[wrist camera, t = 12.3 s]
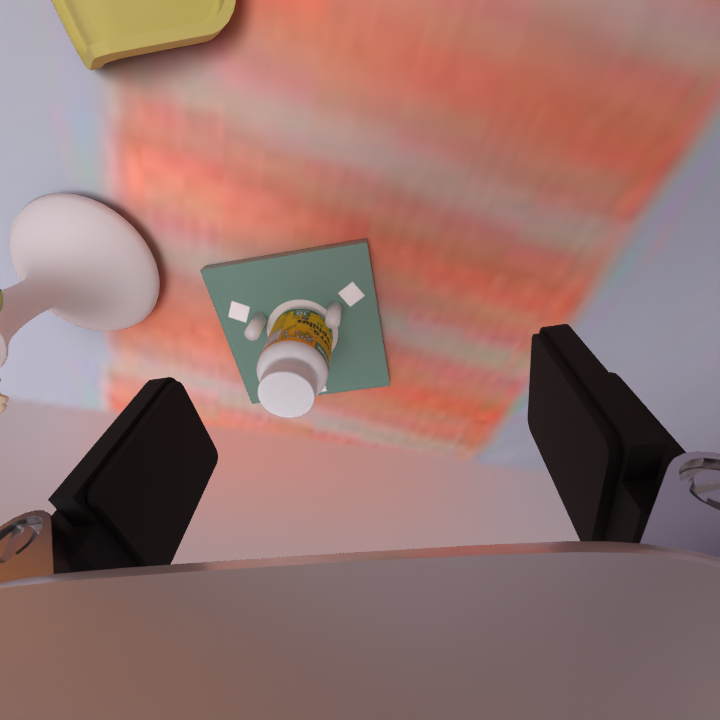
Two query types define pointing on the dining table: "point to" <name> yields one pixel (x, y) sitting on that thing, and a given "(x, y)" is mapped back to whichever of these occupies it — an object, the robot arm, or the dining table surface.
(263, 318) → the board
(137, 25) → the plastic component
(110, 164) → the dining table surface
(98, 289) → the flower in vase
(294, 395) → the supplement bottle
